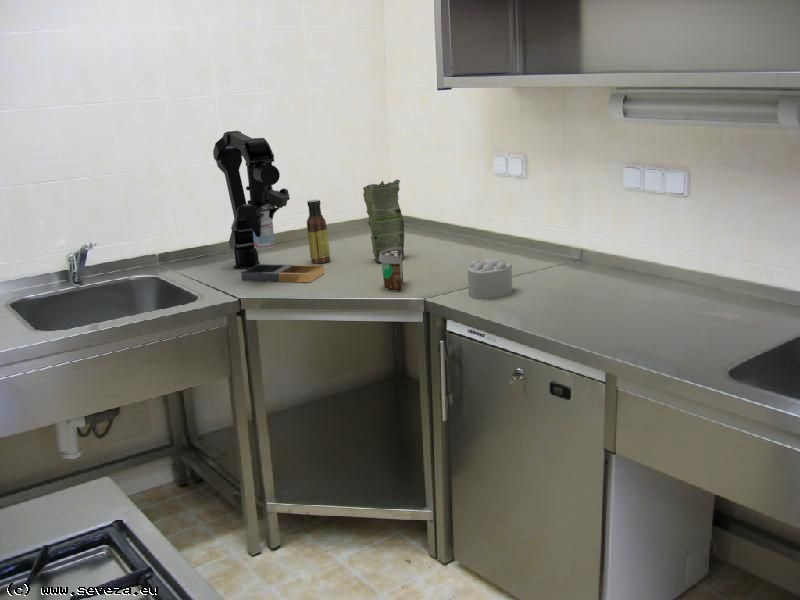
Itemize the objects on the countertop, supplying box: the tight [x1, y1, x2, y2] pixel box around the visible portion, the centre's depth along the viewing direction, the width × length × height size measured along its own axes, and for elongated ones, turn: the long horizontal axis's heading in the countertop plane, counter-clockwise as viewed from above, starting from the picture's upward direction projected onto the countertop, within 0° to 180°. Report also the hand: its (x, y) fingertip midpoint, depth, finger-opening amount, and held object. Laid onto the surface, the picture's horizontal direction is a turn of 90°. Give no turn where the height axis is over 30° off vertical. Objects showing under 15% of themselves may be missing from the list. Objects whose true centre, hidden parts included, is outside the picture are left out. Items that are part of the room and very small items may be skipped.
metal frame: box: [240, 263, 325, 283], centre depth 253 cm, size 22×11×2 cm, turn 72°
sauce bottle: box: [306, 199, 331, 264], centre depth 267 cm, size 7×6×20 cm
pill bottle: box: [253, 209, 276, 251], centre depth 251 cm, size 6×6×11 cm
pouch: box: [362, 178, 405, 264], centre depth 265 cm, size 11×12×25 cm
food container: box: [379, 247, 404, 292], centre depth 234 cm, size 12×6×10 cm, turn 177°
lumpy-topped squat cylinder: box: [467, 257, 513, 300], centre depth 223 cm, size 10×13×9 cm
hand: (263, 234), depth 251 cm, fingers closed on pill bottle, 6 cm apart
